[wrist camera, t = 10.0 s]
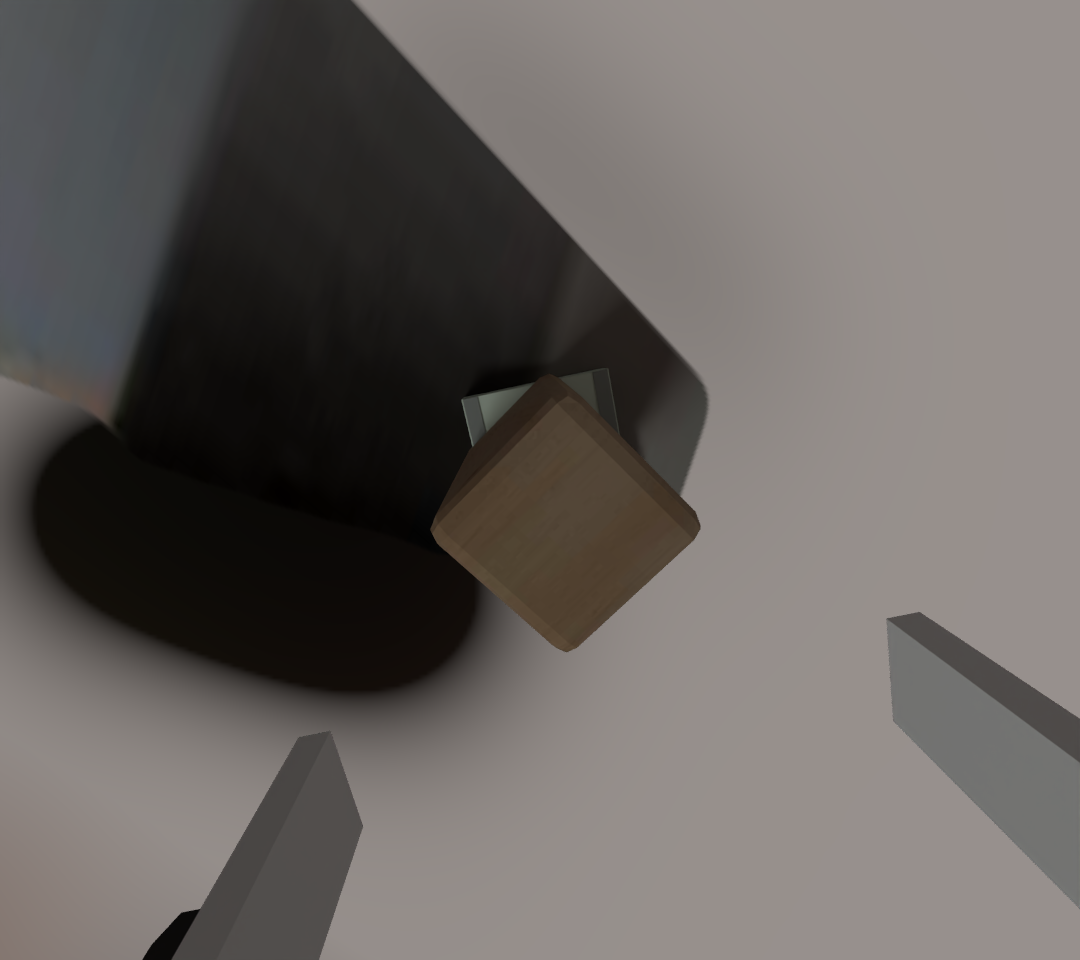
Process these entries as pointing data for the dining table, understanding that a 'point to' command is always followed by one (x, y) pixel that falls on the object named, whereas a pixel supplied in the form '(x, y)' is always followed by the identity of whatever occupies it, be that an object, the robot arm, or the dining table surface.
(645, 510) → the wooden block
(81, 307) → the dining table surface
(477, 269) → the dining table surface
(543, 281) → the dining table surface
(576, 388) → the dock
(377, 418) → the dining table surface
